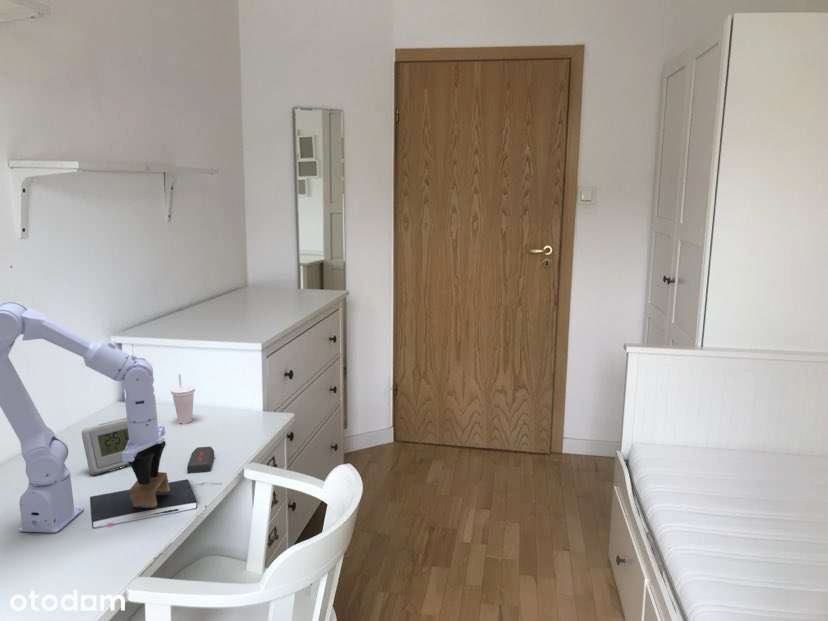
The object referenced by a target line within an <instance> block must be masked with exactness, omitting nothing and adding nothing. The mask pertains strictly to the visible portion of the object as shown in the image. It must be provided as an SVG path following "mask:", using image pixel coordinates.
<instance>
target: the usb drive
mask: <svg viewBox="0 0 828 621" xmlns="http://www.w3.org/2000/svg"><path fill="white" fill-rule="evenodd" d="M214 461H215V450H214V449H213V447H212V445H210V446H198V447H196V448H195V449H194V450H193V451H192V452H191V455H190V458H189V460H188V462H187V466H186V467H187V468H186V470H187V472H186V473H187V474H189V475H190V474H199V473H201V474H202V473H209V472H211V471H212V468H213V464H214Z"/></svg>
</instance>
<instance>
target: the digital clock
mask: <svg viewBox="0 0 828 621" xmlns="http://www.w3.org/2000/svg"><path fill="white" fill-rule="evenodd" d="M81 438H82V442H83V448H84V452H85V457H86V461H87V466H88V470H89V473H90V474H91V475H94V476H95V475H99V474H103V473H105V472H106V471H110V470H113V469H117V468H120V467H123V466H127V465H130V464H129V463H128V462H123V460H122V452H123V451H124V450H125V448H126V445H127V443H128V440H129V434H128V425H127V417H124V418H120V419H116V420H112V421H108V422H104V423H99V424H97V425H94V426H90V427H87V428H83V429H82V430H81ZM127 467H128V466H127ZM120 469H121V468H120ZM117 470H118V469H117ZM113 471H114V470H113ZM110 472H111V471H110ZM106 473H107V472H106Z"/></svg>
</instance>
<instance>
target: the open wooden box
mask: <svg viewBox="0 0 828 621" xmlns="http://www.w3.org/2000/svg"><path fill="white" fill-rule="evenodd" d="M170 490H171V488H170V484H169V478H168V475H167V472H162V471H158V475H157V477H151V480H150V483H149V484H148V485H145V484H139V483H138V480H137V479H136V481H135V483H134V484H133V485H132V486H131V488H129V490H128V492H129V497H130V500H131V504H132V506H133V505H148V506H156V505H158V500H157V497H156V492H164V493H166V492H167V493H168V492H170Z"/></svg>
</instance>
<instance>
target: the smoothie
mask: <svg viewBox="0 0 828 621" xmlns="http://www.w3.org/2000/svg"><path fill="white" fill-rule="evenodd" d="M178 383H179V384H178V385H179V386H175V387H174V388H172V389H171V390H170V395H172V399H173V402H174V407H175V413H176V417H177V422H179V423H178V424H180V423H187V424H189V423H188V422H190V423H192V422H193V415H194V413H193V411H194V399H195V398H194V396H195V395H194V393H195V392H196V390H195V387H194V386H192V385H182V375H181V374H180V373H179V374H178ZM191 421H192V422H191Z"/></svg>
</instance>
